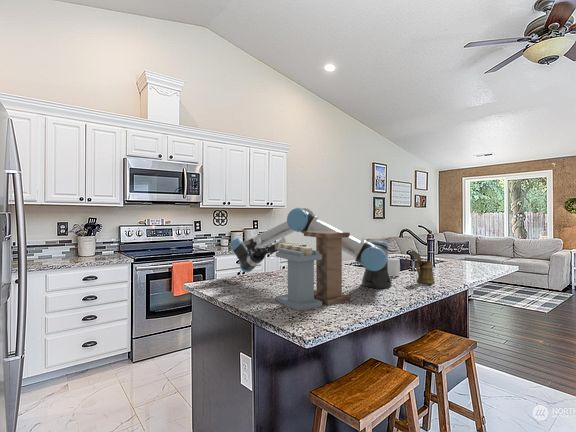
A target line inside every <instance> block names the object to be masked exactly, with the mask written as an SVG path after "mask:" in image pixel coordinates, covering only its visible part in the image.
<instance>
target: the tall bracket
mask: <svg viewBox="0 0 576 432" xmlns="http://www.w3.org/2000/svg"><path fill="white" fill-rule="evenodd" d="M350 234H351V233H350V232H343V231H342V232H335V231H306V232H304V234H303V236H304V237H312V238H315V239H316V240H315V242H316V244H315V246H316V247H315V249H316V250H315V251H319V254H321V255H322V259H321V260H315V261H316V265H315V266H316V267H315V268H316V271H315V273H316V274H315V275H316V277H315V279H316V280H315V281H316V284H315V285H316V286H315V287H316V289H314V299H317V300H319V301H322V305H323V304H324V305H326V306H331V305H337V304H342V303H346V302H347V303H348V302H350V301H351V296H349V295H346V294H343V281H342V280H343V276H342V275H343V273H342V272H343V271H342V270H343V256H342V255H343V251H342V238H346V237H350V236H351V235H350Z"/></svg>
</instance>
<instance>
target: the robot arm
mask: <svg viewBox="0 0 576 432" xmlns="http://www.w3.org/2000/svg"><path fill="white" fill-rule="evenodd" d="M306 231H335V232H343V231H342V230H339V229H338V228H336V227H334V226H332V225H330V224H328V223H326V222H324V221H323V220H320V219H319V216H318V215H317V214H315V213H314V212H313V211H312V210H311V209H310V208H306V207H305V208H302V207H296V208H293V209H291V210H290V211H289V212H288V214H287V216H286V221H284V222H281V223H280V224H277V225H276V226H273V227H272V228H270V229H267V230H266V231H263V232H262V233H260V234H258V235H256V236H254V237H251V238H250V239H247V240H243V239H242V238H241V237H237V238H234V239H233V240H232V241H231V242H229V246H230V249H231V251H232V252H233V253H234V254H235V256H236V258H237V259H238V261H239V263H240V265H239V268H240V270H241V271H242V272H243V273H250V272H252V271H253V270H254V269H255V268H256V267H257V266H258V265H259V264H260V263H261V262H262V261H263V260H264V259H265V256H266V255H268V254H269V255H270V256H271V255H273V254H274V253H275V254H276V252H279V250H275V244H273V245H270V244H271V243H275V242H276V241H278V242H277V243H285V244H286V242H287V241H286V238H285V237H287V236H288V235H291V234H293V233H295V232H296V233H302V235H304V232H306ZM268 245H270V246H268ZM388 245H389V243H388V242H385V241H368V240H366V239H364V240H359V239H358V238H356V237H354V236H352V235H350V237H346V238H342V252H344V253H345V254H348V255H349V256H352V257H353V260H354V261H355V262H357V263H359V264H360V265H362V267H363V268H364V269H365V271H364V274H363V277H362V280H361V285H362V286H364V287H366V288H373V289H388V288H391V287H392V280H391V277H390V276H389V273H388V258H389V246H388Z"/></svg>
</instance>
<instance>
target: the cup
mask: <svg viewBox="0 0 576 432" xmlns="http://www.w3.org/2000/svg"><path fill="white" fill-rule="evenodd" d="M400 268H401V266H400V259H399V258H395V257H391V258H390V257H388V273H389V275H392V276H398V277H400V274H401V273H400V271H401V270H400Z"/></svg>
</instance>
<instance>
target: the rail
mask: <svg viewBox="0 0 576 432" xmlns="http://www.w3.org/2000/svg"><path fill="white" fill-rule="evenodd" d="M274 245H275V250H279V248H283V249H288V250H293V251H299V252H304V255H305V256H309V255H312V250H313V247H308V246H302V245H296V244H291V243H286V242H285V243H278V242H274Z"/></svg>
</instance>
